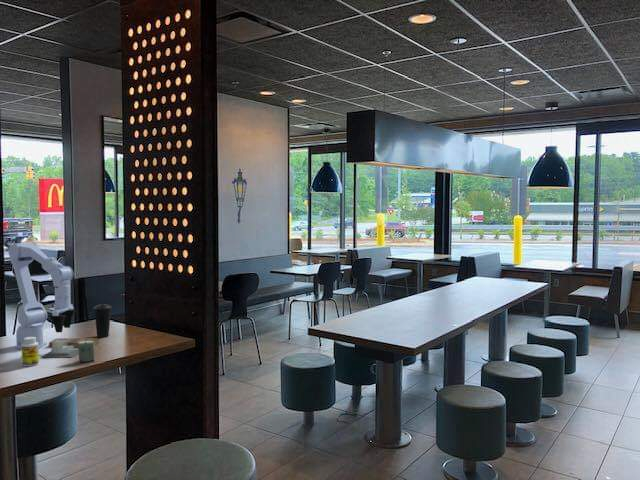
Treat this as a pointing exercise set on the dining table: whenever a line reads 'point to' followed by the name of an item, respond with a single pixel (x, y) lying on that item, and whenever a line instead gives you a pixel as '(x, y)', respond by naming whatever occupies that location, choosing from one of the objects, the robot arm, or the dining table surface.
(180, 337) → the dining table surface
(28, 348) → the supplement bottle
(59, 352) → the grey stepped block
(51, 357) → the mat
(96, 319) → the drinking cup
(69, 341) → the body
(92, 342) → the small box
